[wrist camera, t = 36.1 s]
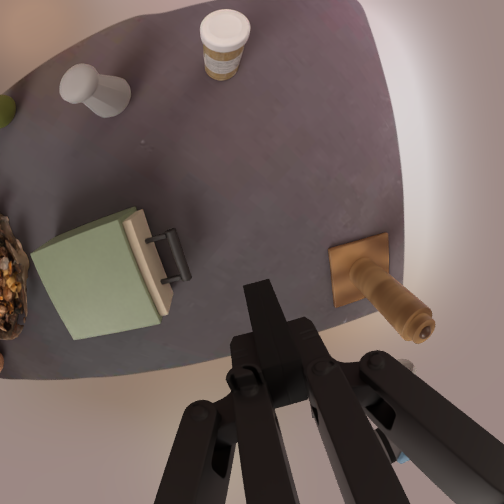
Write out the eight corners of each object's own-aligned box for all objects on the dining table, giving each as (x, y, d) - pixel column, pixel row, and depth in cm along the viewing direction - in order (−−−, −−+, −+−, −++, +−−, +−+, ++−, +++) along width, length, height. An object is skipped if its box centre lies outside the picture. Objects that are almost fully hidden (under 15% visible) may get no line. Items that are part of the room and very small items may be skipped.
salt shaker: (128, 73, 28) (92, 44, 16) (141, 106, 30) (105, 87, 18) (93, 94, 28) (46, 76, 16) (104, 126, 31) (57, 119, 18)
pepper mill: (374, 280, 44) (439, 342, 27) (350, 288, 44) (409, 358, 27) (374, 254, 42) (446, 311, 25) (348, 262, 42) (415, 327, 25)
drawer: (171, 199, 35) (164, 208, 29) (200, 286, 40) (198, 307, 35) (63, 237, 34) (44, 251, 29) (96, 311, 39) (84, 331, 34)
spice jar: (216, 47, 29) (218, 1, 16) (245, 62, 30) (260, 20, 18) (197, 72, 30) (189, 33, 17) (226, 87, 31) (233, 53, 19)
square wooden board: (386, 287, 46) (388, 289, 45) (333, 305, 45) (335, 308, 45) (385, 232, 42) (388, 233, 41) (327, 248, 41) (329, 250, 41)
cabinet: (135, 206, 35) (117, 219, 28) (168, 295, 41) (160, 323, 34) (54, 236, 35) (29, 254, 28) (90, 313, 40) (74, 340, 33)
